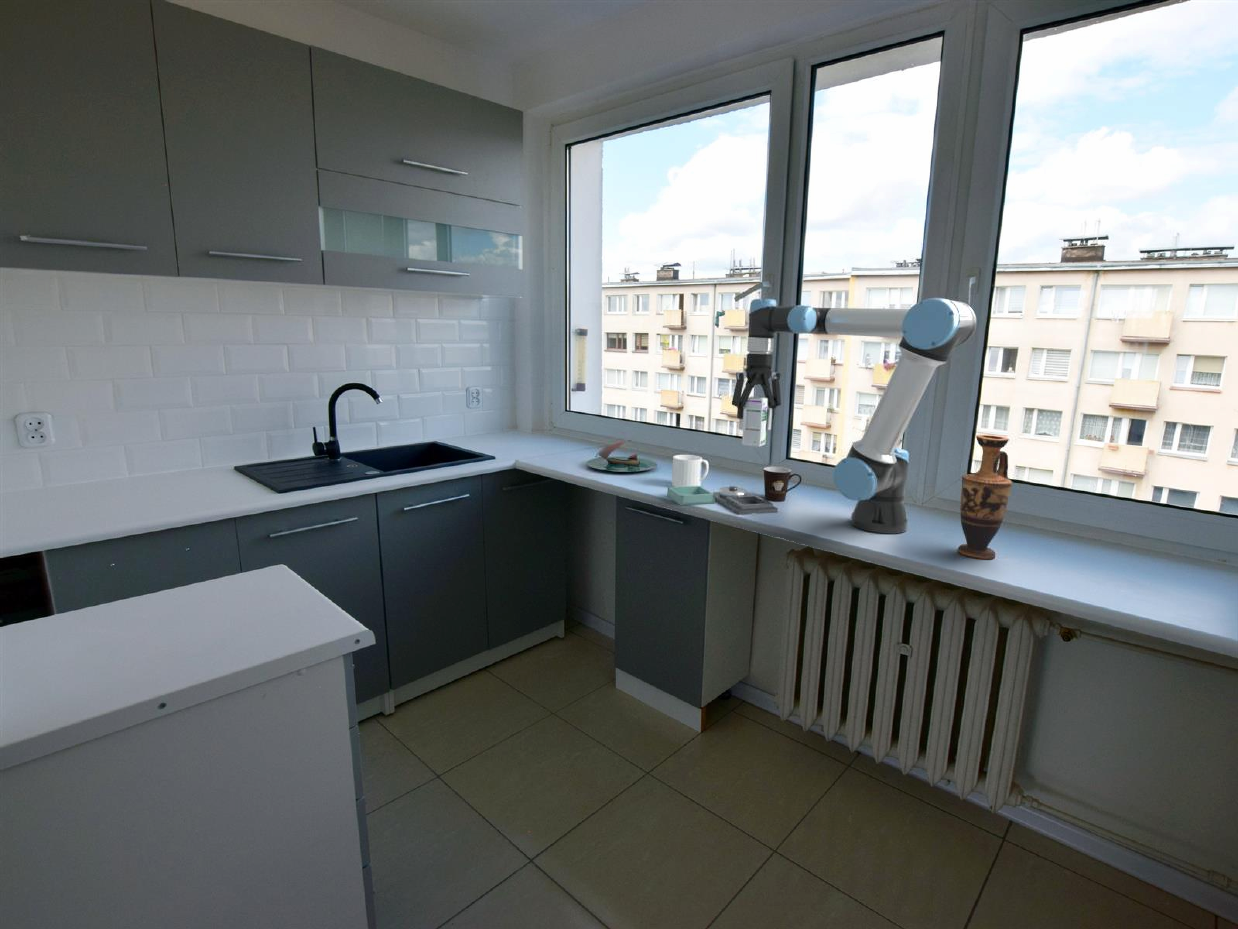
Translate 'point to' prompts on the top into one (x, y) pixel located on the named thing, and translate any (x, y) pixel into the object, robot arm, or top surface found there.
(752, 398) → the syrup box
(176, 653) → the top surface
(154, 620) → the top surface
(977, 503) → the vase
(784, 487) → the coffee mug
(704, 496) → the tray
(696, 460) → the mug
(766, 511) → the pulley plate
